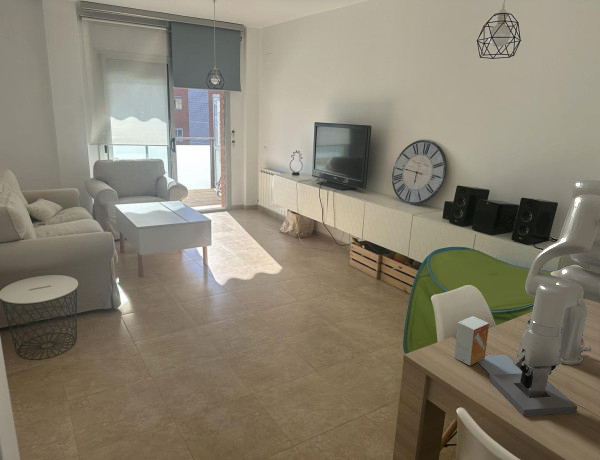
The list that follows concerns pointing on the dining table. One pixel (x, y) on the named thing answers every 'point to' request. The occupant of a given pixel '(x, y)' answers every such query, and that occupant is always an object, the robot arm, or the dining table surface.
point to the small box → (471, 340)
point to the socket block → (532, 406)
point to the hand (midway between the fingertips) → (533, 384)
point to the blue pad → (499, 365)
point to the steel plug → (536, 382)
